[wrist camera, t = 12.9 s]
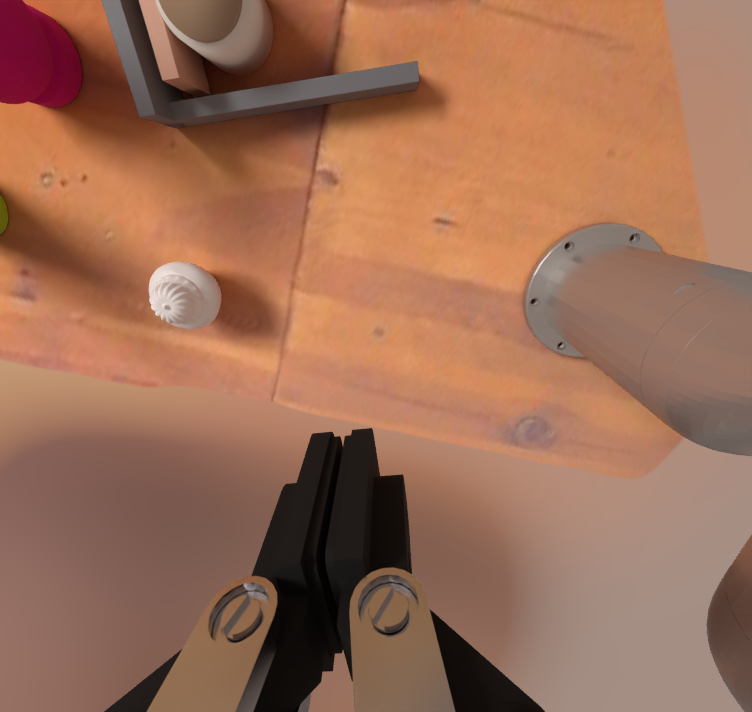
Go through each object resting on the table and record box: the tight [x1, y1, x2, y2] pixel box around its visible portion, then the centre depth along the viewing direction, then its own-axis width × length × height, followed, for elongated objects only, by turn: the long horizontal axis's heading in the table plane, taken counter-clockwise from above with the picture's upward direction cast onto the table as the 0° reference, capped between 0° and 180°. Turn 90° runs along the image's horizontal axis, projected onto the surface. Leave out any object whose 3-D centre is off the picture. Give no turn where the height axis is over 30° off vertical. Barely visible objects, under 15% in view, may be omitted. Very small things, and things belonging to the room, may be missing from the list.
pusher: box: [139, 0, 211, 98], centre depth 26 cm, size 1×8×5 cm, turn 8°
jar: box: [155, 0, 274, 75], centre depth 25 cm, size 6×6×6 cm
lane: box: [101, 0, 419, 128], centre depth 25 cm, size 20×12×5 cm, turn 97°
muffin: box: [149, 262, 222, 329], centre depth 33 cm, size 6×6×7 cm
